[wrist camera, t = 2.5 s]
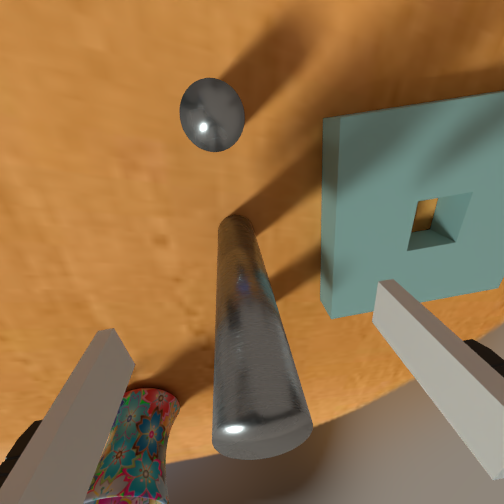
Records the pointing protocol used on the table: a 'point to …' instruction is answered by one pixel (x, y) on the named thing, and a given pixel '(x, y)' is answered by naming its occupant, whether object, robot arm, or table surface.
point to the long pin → (252, 356)
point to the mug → (136, 451)
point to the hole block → (412, 201)
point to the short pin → (212, 114)
